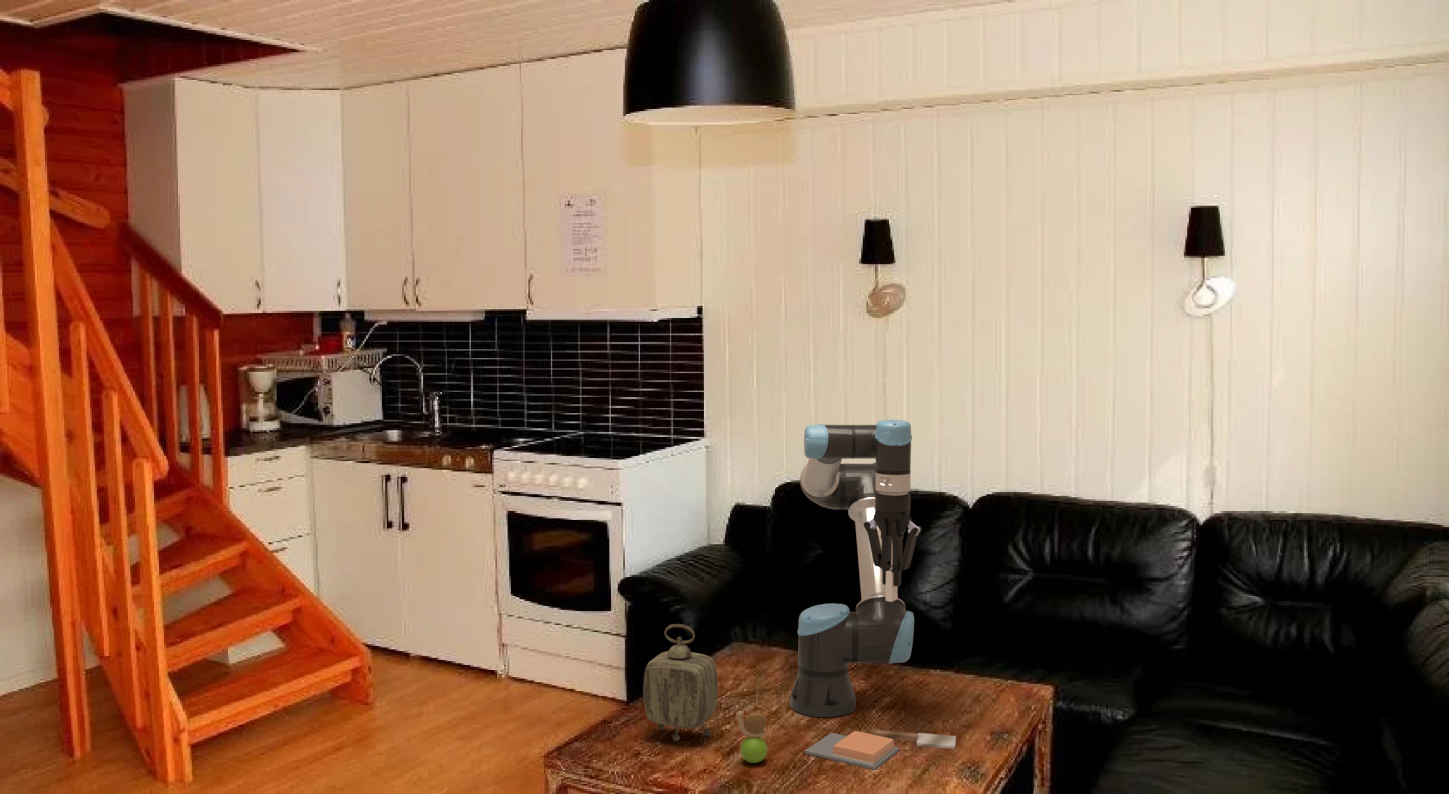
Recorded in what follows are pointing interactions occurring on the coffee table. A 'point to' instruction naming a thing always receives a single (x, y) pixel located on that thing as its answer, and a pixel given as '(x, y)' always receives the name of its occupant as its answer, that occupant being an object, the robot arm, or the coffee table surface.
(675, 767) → the coffee table surface
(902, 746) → the coffee table surface
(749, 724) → the snail figurine
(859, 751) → the tile
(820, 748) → the mat
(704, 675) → the tabletop clock
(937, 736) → the turner
